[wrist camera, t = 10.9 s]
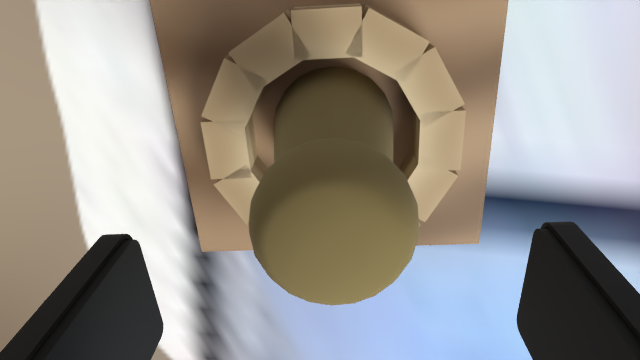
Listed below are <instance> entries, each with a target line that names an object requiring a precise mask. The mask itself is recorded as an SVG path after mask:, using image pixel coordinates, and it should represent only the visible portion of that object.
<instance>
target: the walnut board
mask: <svg viewBox="0 0 640 360" xmlns="http://www.w3.org/2000/svg"><path fill="white" fill-rule="evenodd" d="M358 3H359V4H360V5H361V6H362V12H363V10H364V8H365V6H366V5H367V6H369V7H371V8H372V9H374V10H376V11H378V12H380V13H381V14H383V15H385V16H387V17H388V18H390V19H392V20H394V21H396V22H397V23H399V24H401V25H403V26H405V27H406V28H408V29H410V30H412V31H414V32H415V33H417V34H419V35H421V36H422V37H424V38H425V39H427V40H428V41H430V44H432V45H433V46H435V48H436V50H437V52H438V54H439V56H440V57H441V59H442V61H443V63H444V65H445V67H446V69H447V71H448V73H449V75H450V77H451V78H452V80H453V82H454V84H455V86H456V88H457V90H458V92H459V94H460V96H461V97H462V99H463V101H464V103H465V104H464V105H462V107H463V108H464V109H465V110H466V117H465V128H464V139H463V150H462V161H461V170H455V171H456V172H457V174H458V177H457V178H456V180H455V181H454V183H453V184H452V185H451V187H450V188H449V190H448V191H447V192H446V194H445V195H444V197H443V198H442V199H441V201H440V202H439V204H438V205H437V206H436V208H435V209H434V210H433V212H432V213H431V215H430V216H429V217H428V219H427V220H426V222H424V221H422V220H420V219H419V223H420V226H419V234H418V240H417V243H416V245H447V244H479V240H480V231H481V223H482V215H483V206H484V198H485V190H486V182H487V173H488V165H489V157H490V148H491V140H492V132H493V124H494V115H495V107H496V99H497V91H498V82H499V74H500V66H501V57H502V49H503V41H504V33H505V24H506V16H507V8H508V0H150V5H151V10H152V14H153V19H154V24H155V29H156V34H157V38H158V43H159V48H160V53H161V58H162V62H163V67H164V72H165V77H166V81H167V86H168V91H169V96H170V101H171V105H172V110H173V115H174V120H175V125H176V129H177V134H178V139H179V144H180V149H181V153H182V158H183V163H184V168H185V173H186V177H187V182H188V187H189V192H190V197H191V201H192V206H193V211H194V216H195V220H196V225H197V230H198V235H199V240H200V244H201V249H202V251H236V250H253V246H252V242H251V238H250V235H249V227H248V226H247V224H246V223H245V222H244V221H243V220H242V218H241V217H240V216H239V215H238V214H237V212H236V211H235V210H234V209H233V208H232V206H231V205H230V204H229V203H228V202H227V200H226V199H225V198H224V197H223V196H222V194H221V193H220V192H219V191H218V190H217V188H216V187H215V186H214V183H215V181H216V180H217V179H211V177H210V171H209V166H208V160H207V155H206V149H205V144H204V138H203V133H202V127H201V121H202V120H203V119H204V117H202V116H201V115H202V113H203V110H204V108H205V105H206V102H207V100H208V97H209V95H210V92H211V90H212V87H213V85H214V82H215V80H216V77H217V75H218V72H219V70H220V67H221V65H222V62H223V60H224V58H225V57H226V56H228V55H229V53H228V52H230V51H231V50H233V49H234V48H235V47H237V46H238V45H240V44H241V43H242V42H244V41H245V40H246V39H248V38H249V37H251V36H252V35H253V34H255V33H256V32H258V31H259V30H260V29H262V28H263V27H265V26H266V25H267V24H269V23H270V22H272V21H273V20H274V19H276V18H277V17H279V16H280V15H281V14H283V13H284V12H286V11H287V10H289V11H290V13H291V10H292V9H293V8H294V7H307V6H324V5H341V4H358ZM333 66H336V67H342V68H348V69H353V70H356V71H358V72H360V73H361V74H363V75H365V76H367V77H369V78H371V79H372V80H373V81H374V82H375V83H376V84H377V85H378V86H379V88H380V89H381V90H382V91H383V92H384V93H385V95H386V97H387V100H388V102H389V104H390V107H391V109H392V116H393V163H394V164H395V165H396V166H397V167H398V168H400V166H401V164H402V163H403V161H404V160H405V158H406V157H407V155H408V154H409V152H410V150H411V149H412V122H413V107H412V106H411V104H410V102H409V100H408V99H407V97H406V95H405V94H404V92H403V90H402V88H401V87H400V85H399V83H398V81H397V80H395V79H393V78H392V77H390V76H388V75H386V74H384V73H382V72H380V71H378V70H377V69H375V68H373V67H371V66H369V65H367V64H365V63H363V62H361V61H360V60H358V59H356V58H354V57H350V58H331V59H312V60H303V61H301V62H300V63H298V64H297V65H295V66H294V67H292V68H291V69H289V70H288V71H286V72H285V73H283V74H282V75H280V76H279V77H277V78H276V79H274V80H273V81H271V82H270V83H268V84H267V85H266V86H265V89H264V91H263V93H262V95H261V97H260V100H259V102H258V104H257V106H256V109H255V111H254V113H253V115H252V117H253V125H254V133H255V140H256V148H257V155H258V157H259V158H260V159H261V161H262V162H263V163H264V165H265V166H266V167H267V168H269V167H270V166H271V165H272V164H273V163H274V120H275V112H276V107H277V105H278V103H279V101H280V99H281V97H282V95H283V93H284V91H285V90H286V89H287V88H288V87H289V86H290V85H291V84H292V83H293V82H294V81H295V80H296V79H297V78H299V77H301V76H303V75H305V74H306V73H308V72H310V71H312V70H314V69H320V68H326V67H333Z"/></svg>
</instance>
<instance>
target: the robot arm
mask: <svg viewBox="0 0 640 360" xmlns="http://www.w3.org/2000/svg"><path fill="white" fill-rule="evenodd" d="M517 326H518V330H519V332H520V335H521V337H522V339H523V341H524V343H525V345H526V347H527V349H528V351H529V353H530V355H531V357H532V359H533V360H640V294H639V293H638V292H637V291H636V290H635V288H634V287H633V286H632V285H631V284H630V283H629V282H628V281H627V280H626V279H625V277H624V276H623V275H622V274H621V273H620V272H619V271H618V270H617V269H616V268H615V267H614V265H613V264H612V263H611V262H610V261H609V260H608V259H607V258H606V257H605V256H604V254H603V253H602V252H601V251H600V250H599V249H598V248H597V247H596V246H595V245H594V244H593V242H592V241H591V240H590V239H589V238H588V237H587V236H586V235H585V234H584V233H583V231H582V230H581V229H580V228H579V227H578V226H577V225H576V224H575V223H574V222H546V223H544V224H543V225H542V227H541V229H536V230H535V231H534V234H533V238H532V243H531V248H530V253H529V258H528V263H527V268H526V273H525V278H524V283H523V288H522V293H521V298H520V303H519V308H518V313H517ZM162 333H163V321H162V317H161V314H160V311H159V307H158V304H157V301H156V297H155V294H154V291H153V287H152V284H151V281H150V277H149V274H148V271H147V267H146V264H145V261H144V257H143V254H142V251H141V247H140V244H139V242H138V241H137V240H133V239H132V237H131V236H130V235H128V234H112V235H102V236H101V237H100V238H99V239H98V240H97V241H96V243H95V244H94V245H93V246H92V247H91V248H90V250H89V251H88V252H87V253H86V254H85V255H84V257H83V258H82V259H81V260H80V261H79V262H78V263H77V265H76V266H75V267H74V268H73V269H72V270H71V272H70V273H69V274H68V275H67V276H66V277H65V278H64V280H63V281H62V282H61V283H60V284H59V285H58V286H57V288H56V289H55V290H54V291H53V292H52V293H51V295H50V296H49V297H48V298H47V299H46V300H45V301H44V303H43V304H42V305H41V306H40V307H39V308H38V310H37V311H36V312H35V313H34V314H33V315H32V317H31V318H30V319H29V320H28V321H27V322H26V323H25V325H24V326H23V327H22V328H21V329H20V330H19V332H18V333H17V334H16V335H15V336H14V337H13V339H12V340H11V341H10V342H9V343H8V344H7V345H6V347H5V348H4V349H3V350H2V351H1V352H0V360H151V358H152V356H153V354H154V352H155V350H156V347H157V345H158V343H159V341H160V339H161V336H162Z"/></svg>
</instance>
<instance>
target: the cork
mask: <svg viewBox="0 0 640 360" xmlns="http://www.w3.org/2000/svg"><path fill="white" fill-rule="evenodd" d="M248 226H249V235H250V238H251V242H252V246H253V250H254V254H255V256H256V258H257V259H258V261H259V262H260V264H261V265H262V267H263V268H264V270H265V271H266V273H267V274H268V275H269V277H270V278H271V279H272V280H273V281H274V282H276V283H277V284H278V285H279V286H281V287H282V288H283V289H284V290H286V291H287V292H288V293H290V294H292V295H294V296H297V297H299V298H301V299H304V300H306V301H309V302H313V303H320V304H326V305H340V304H350V303H356V302H359V301H361V300H364V299H367V298H370V297H372V296H375V295H377V294H378V293H379V292H381V291H382V290H383V289H385V288H386V287H388V286H389V285H390V284H392V283H393V282H394V281H395V280H396V279H397V278H398V276H399V275H400V274H401V272H402V271H403V270H404V268H405V267H406V266H407V264H408V263H409V262H410V260H411V259H412V256H413V252H414V249H415V246H416V243H417V240H418V234H419V216H418V204H417V201H416V199H415V197H414V194H413V192H412V190H411V188H410V185H409V183H408V181H407V179H406V177H405V174H404V173H403V172H402V171H401V170H400V169H399V168H398V167H397V166H396V165H395V164H394V163H393V116H392V109H391V107H390V104H389V102H388V100H387V97H386V95H385V93H384V92H383V91H382V90H381V89H380V88H379V86H378V85H377V84H376V83H375V82H374V81H373V80H372V79H371V78H369V77H367V76H365V75H363V74H361V73H360V72H358V71H356V70H353V69H348V68H342V67H336V66H333V67H326V68H320V69H314V70H312V71H310V72H308V73H306V74H305V75H303V76H301V77H299V78H297V79H296V80H295V81H294V82H293V83H292V84H291V85H290V86H289V87H288V88H287V89H286V90H285V91H284V93H283V95H282V97H281V99H280V101H279V103H278V105H277V107H276V112H275V120H274V163H273V164H272V165H271V166H270V167H269V168H268V169H267V170H266V171H265V173H264V175H263V177H262V178H261V180H260V182H259V184H258V186H257V188H256V190H255V192H254V195H253V197H252V200H251V204H250V213H249V222H248Z"/></svg>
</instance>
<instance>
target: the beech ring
mask: <svg viewBox="0 0 640 360" xmlns="http://www.w3.org/2000/svg"><path fill="white" fill-rule="evenodd" d="M228 53H229V55H228V56H226V57H225V58H224V60H223V62H222V65H221V67H220V70H219V72H218V75H217V77H216V80H215V82H214V85H213V87H212V90H211V92H210V95H209V97H208V100H207V102H206V105H205V108H204V110H203V113H202V115H201V116H202V117H204V119H203V120H202V121H201V127H202V133H203V138H204V144H205V149H206V155H207V160H208V166H209V171H210V177H211V179H217V180H216V181H215V183H214V186H215V187H216V188H217V190H218V191H219V192H220V193H221V194H222V196H223V197H224V198H225V199H226V200H227V202H228V203H229V204H230V205H231V206H232V208H233V209H234V210H235V211H236V212H237V214H238V215H239V216H240V217H241V218H242V220H243V221H244V222H245V223H246V224H247V226H248V222H249V213H250V204H251V200H252V197H253V195H254V192H255V190H256V188H257V186H258V184H259V182H260V180H261V178H262V177H263V175H264V173H265V171H266V170H267V169H268V168H267V167H266V166H265V165H264V163H263V162H262V161H261V159H260V158H259V157H258V155H257V148H256V140H255V133H254V125H253V117H252V115H253V113H254V111H255V109H256V106H257V104H258V102H259V100H260V97H261V95H262V93H263V91H264V89H265V86H266V85H267V84H268V83H270V82H271V81H273V80H274V79H276V78H277V77H279V76H280V75H282V74H283V73H285V72H286V71H288V70H289V69H291V68H292V67H294V66H295V65H297V64H298V63H300V62H301V61H303V60H312V59H331V58H350V57H354V58H356V59H358V60H360V61H361V62H363V63H365V64H367V65H369V66H371V67H373V68H375V69H377V70H378V71H380V72H382V73H384V74H386V75H388V76H390V77H392V78H393V79H395V80H397V81H398V83H399V85H400V87H401V88H402V90H403V92H404V94H405V95H406V97H407V99H408V100H409V102H410V104H411V106H412V107H413V122H412V149H411V150H410V152H409V154H408V155H407V157H406V158H405V160H404V161H403V163H402V164H401V166H400V168H399V169H400V170H401V171H402V172H403V173H404V174H405V177H406V179H407V181H408V183H409V185H410V188H411V190H412V192H413V194H414V197H415V199H416V201H417V204H418V216H419V219H420V220H422V221H424V222H426V220H427V219H428V217H429V216H430V215H431V213H432V212H433V210H434V209H435V208H436V206H437V205H438V204H439V202H440V201H441V199H442V198H443V197H444V195H445V194H446V192H447V191H448V190H449V188H450V187H451V185H452V184H453V183H454V181H455V180H456V178H457V177H458V174H457V172H456V171H455V170H461V161H462V150H463V139H464V128H465V117H466V110H465V109H464V108H463V107H462V105H464V104H465V103H464V101H463V99H462V97H461V96H460V94H459V92H458V90H457V88H456V86H455V84H454V82H453V80H452V78H451V77H450V75H449V73H448V71H447V69H446V67H445V65H444V63H443V61H442V59H441V57H440V56H439V54H438V52H437V50H436V48H435V46H433V45H432V44H430V41H428V40H427V39H425V38H424V37H422V36H421V35H419V34H417V33H415V32H414V31H412V30H410V29H408V28H406V27H405V26H403V25H401V24H399V23H397V22H396V21H394V20H392V19H390V18H388V17H387V16H385V15H383V14H381V13H380V12H378V11H376V10H374V9H372V8H371V7H369V6H367V5H366V6H365V8H364V10H363V12H362V6H361V5H360V4H359V3H358V4H341V5H324V6H307V7H294V8H293V9H292V10H291V13H290V11H289V10H287V11H286V12H284V13H283V14H281V15H280V16H279V17H277V18H276V19H274V20H273V21H272V22H270V23H269V24H267V25H266V26H265V27H263V28H262V29H260V30H259V31H258V32H256V33H255V34H253V35H252V36H251V37H249V38H248V39H246V40H245V41H244V42H242V43H241V44H240V45H238V46H237V47H235V48H234V49H233V50H231V51H230V52H228ZM419 226H420V223H419ZM248 227H249V226H248Z"/></svg>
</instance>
